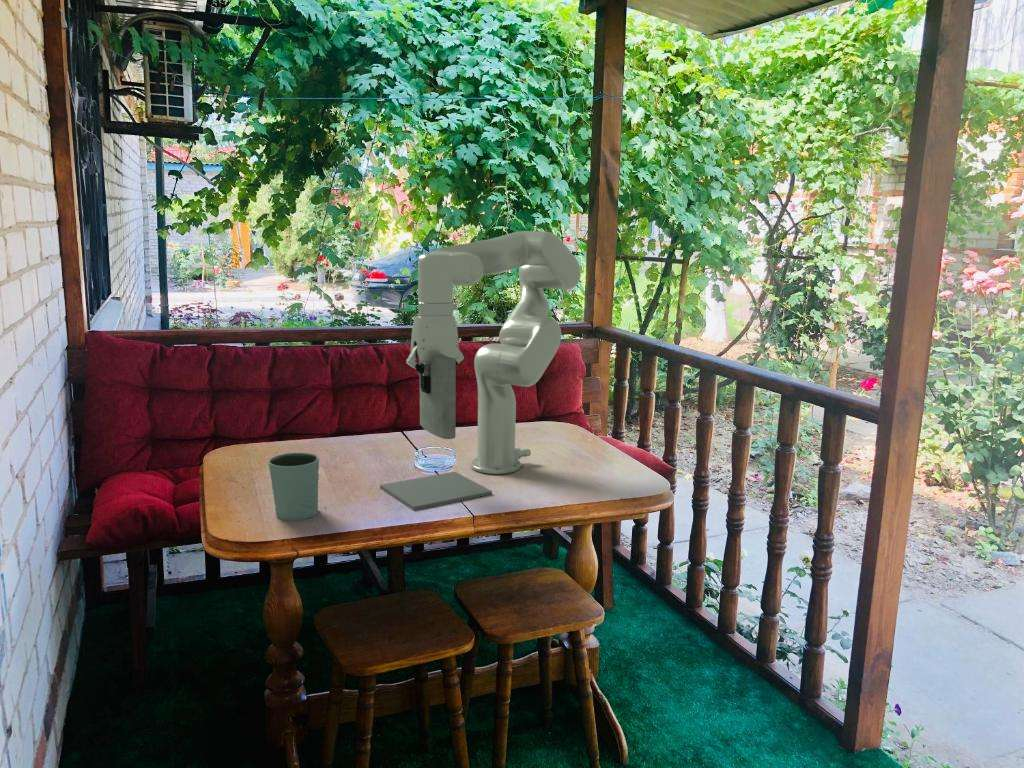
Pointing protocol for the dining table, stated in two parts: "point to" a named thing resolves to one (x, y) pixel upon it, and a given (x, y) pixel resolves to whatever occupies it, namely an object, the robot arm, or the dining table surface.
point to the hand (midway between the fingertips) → (435, 390)
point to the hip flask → (440, 398)
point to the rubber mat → (434, 490)
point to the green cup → (295, 485)
